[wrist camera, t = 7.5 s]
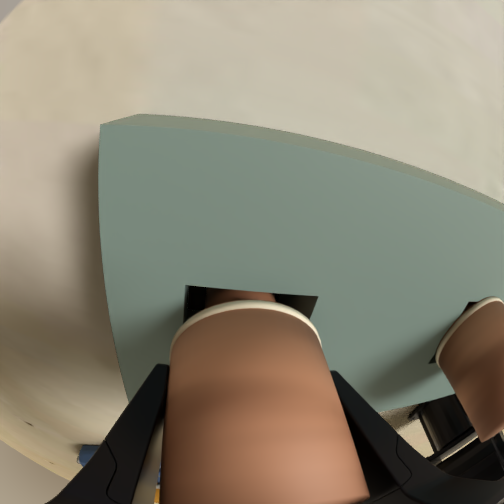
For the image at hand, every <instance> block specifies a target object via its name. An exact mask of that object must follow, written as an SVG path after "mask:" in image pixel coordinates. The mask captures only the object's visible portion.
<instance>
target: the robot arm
mask: <svg viewBox="0 0 504 504" xmlns="http://www.w3.org/2000/svg"><path fill="white" fill-rule="evenodd" d="M330 373H331V376H332V379H333V382H334V385H335V388H336V390H337V393H338V396H339V399H340V402H341V405H342V408H343V411H344V414H345V417H346V420H347V423H348V427H349V430H350V433H351V436H352V439H353V442H354V445H355V448H356V452H357V455H358V458H359V461H360V464H361V468H362V471H363V474H364V477H365V481H366V484H367V487H368V491H369V494H370V498H369V499H368V500H366V501H365V502H363V503H361V504H504V435H503V432H502V430H501V431H500V432H499V433H497V434H496V435H494V436H493V437H491V438H490V439H488V440H486V441H484V442H481V441H480V439H479V437H478V438H476V439H475V440H474V441H472V442H471V443H469V444H468V445H467V446H465V447H464V448H462V449H461V450H459V451H458V452H456V453H455V454H453V455H452V456H450V457H448V458H447V459H445V460H444V461H441V460H442V459H443V458H445V457H447V456H448V455H450V454H451V453H453V452H454V451H456V450H457V449H459V448H460V447H462V446H463V445H465V444H466V443H468V442H469V441H470V440H472V439H473V438H474V437H476V436H477V433H476V431H475V429H474V427H473V425H472V423H471V421H470V419H469V417H468V415H467V413H466V412H465V410H464V408H463V406H462V404H461V402H460V400H459V399H458V397H457V395H456V393H455V394H452V395H448V396H445V397H442V398H438V399H434V400H431V401H427V402H423V403H421V404H420V405H419V407H418V408H417V409H416V410H415V411H414V412H413V413H412V414H411V415H410V416H409V417H408V419H409V421H411V420H415V419H419V420H420V422H421V424H422V426H423V428H424V431H425V433H426V435H427V437H428V440H429V442H430V444H431V447H432V449H433V451H434V454H433V455H431V456H429V457H426V458H425V457H423V456H422V455H421V454H420V453H419V452H417V451H416V450H415V449H414V448H413V447H412V446H411V445H409V444H408V443H407V442H406V441H405V440H404V439H403V438H402V437H401V436H400V435H399V434H398V433H397V432H396V431H395V430H394V429H393V428H392V427H391V426H390V425H389V424H388V423H387V422H386V421H385V420H384V419H383V418H382V417H381V416H380V415H379V414H378V413H377V412H376V411H375V410H374V409H373V408H372V407H371V406H370V405H369V404H368V402H367V401H366V400H365V399H364V398H363V397H362V396H361V395H360V394H359V393H358V392H357V391H356V390H355V389H354V388H353V387H352V386H351V385H350V384H349V383H348V382H347V381H346V380H345V379H344V378H343V377H342V376H341V375H340V374H339V373H338V372H337V371H336V370H330ZM168 376H169V365H168V364H161V363H158V364H156V365H155V366H154V368H153V369H152V371H151V372H150V374H149V375H148V376H147V378H146V379H145V381H144V382H143V384H142V385H141V387H140V388H139V389H138V391H137V392H136V394H135V395H134V397H133V398H132V400H131V401H130V402H129V404H128V405H127V407H126V408H125V410H124V411H123V413H122V414H121V416H120V417H119V418H118V420H117V421H116V423H115V424H114V426H113V427H112V429H111V430H110V432H109V433H108V435H107V436H106V438H105V440H106V441H105V440H103V442H102V443H101V445H100V446H99V448H98V449H97V450H96V452H95V453H94V455H93V456H92V457H91V459H90V460H89V461H88V462H87V463H86V465H85V466H84V467H83V468H82V469H81V470H80V471H79V473H78V474H77V475H76V476H75V477H74V478H73V479H72V480H71V481H70V482H69V483H68V484H67V486H66V487H65V488H64V489H63V490H62V491H61V492H60V493H59V494H58V495H57V496H56V497H54V498H53V499H52V500H50V501H49V502H47V503H45V504H154V499H155V493H156V486H157V480H158V474H159V468H160V462H161V451H162V437H163V425H164V413H165V403H166V394H167V385H168Z"/></svg>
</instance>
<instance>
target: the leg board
mask: <svg viewBox="0 0 504 504" xmlns="http://www.w3.org/2000/svg"><path fill="white" fill-rule="evenodd" d="M98 196H99V224H100V240H101V253H102V264H103V273H104V281H105V289H106V297H107V303H108V310H109V316H110V322H111V328H112V333H113V338H114V343H115V348H116V353H117V358H118V362H119V366H120V371H121V375H122V379H123V383H124V387H125V390H126V394H127V398H128V401H129V402H130V401H131V400H132V398H133V397H134V395H135V394H136V392H137V391H138V389H139V388H140V387H141V385H142V384H143V382H144V381H145V379H146V378H147V376H148V375H149V374H150V372H151V371H152V369H153V368H154V366H155V365H156V364H158V363H161V364H168V365H169V366H170V360H169V356H170V347H171V343H172V339H173V337H174V335H175V333H176V332H177V331H178V329H179V328H180V327H181V326H182V325H183V324H184V323H185V322H186V321H187V320H188V319H189V318H191V317H192V316H194V315H195V314H196V313H198V312H200V311H201V310H191V309H188V299H189V285H191V286H201V287H211V288H221V289H232V290H243V291H254V292H267V293H279V294H280V295H279V298H278V302H277V303H281V304H284V305H286V306H289V307H291V308H293V309H295V310H297V311H299V312H300V313H302V314H303V315H304V316H306V317H307V318H308V319H309V320H310V321H311V322H312V323H313V325H314V326H315V328H316V330H317V332H318V335H319V337H320V340H321V345H322V350H323V353H324V356H325V359H326V361H327V364H328V367H329V370H336V371H337V372H338V373H339V374H340V375H341V376H342V377H343V378H344V379H345V380H346V381H347V382H348V383H349V384H350V385H351V386H352V387H353V388H354V389H355V390H356V391H357V392H358V393H359V394H360V395H361V396H362V397H363V398H364V399H365V400H366V401H367V402H368V404H369V405H370V406H371V407H372V408H373V409H374V410H375V411H376V412H382V411H388V410H393V409H397V408H402V407H406V406H411V405H415V404H419V403H423V402H427V401H431V400H434V399H438V398H442V397H445V396H448V395H452V394H455V392H454V390H453V388H452V386H451V385H450V383H449V381H448V379H447V378H446V376H445V374H444V373H443V371H442V369H441V368H440V367H439V366H438V364H437V363H436V360H435V354H436V350H437V347H438V345H439V343H440V341H441V339H442V338H443V336H444V335H445V333H446V332H447V331H448V329H449V328H450V327H451V326H452V324H453V323H454V322H455V321H456V320H457V319H458V318H459V317H460V315H461V314H462V312H463V310H464V309H465V307H466V305H467V304H468V302H478V301H480V300H482V299H484V298H487V297H490V296H495V297H498V298H500V299H501V300H502V301H503V302H504V204H503V203H501V202H499V201H497V200H495V199H492V198H490V197H488V196H486V195H484V194H482V193H479V192H477V191H475V190H473V189H470V188H468V187H466V186H463V185H461V184H459V183H456V182H454V181H451V180H449V179H446V178H444V177H441V176H439V175H436V174H433V173H431V172H428V171H425V170H423V169H420V168H417V167H414V166H411V165H408V164H406V163H403V162H400V161H397V160H393V159H390V158H387V157H384V156H381V155H377V154H374V153H371V152H367V151H364V150H360V149H357V148H353V147H349V146H346V145H342V144H338V143H334V142H330V141H326V140H322V139H318V138H313V137H309V136H304V135H300V134H295V133H290V132H285V131H280V130H275V129H269V128H264V127H258V126H252V125H245V124H239V123H232V122H225V121H217V120H209V119H200V118H190V117H179V116H166V115H149V114H137V115H133V116H130V117H126V118H122V119H118V120H115V121H111V122H108V123H104V124H101V125H100V139H99V167H98Z"/></svg>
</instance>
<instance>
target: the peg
mask: <svg viewBox="0 0 504 504" xmlns="http://www.w3.org/2000/svg"><path fill="white" fill-rule="evenodd" d="M169 360H170V366H169V376H168V385H167V394H166V403H165V413H164V425H163V437H162V451H161V468H160V492H159V504H361V503H363V502H365V501H366V500H368V499H369V498H370V494H369V491H368V487H367V484H366V481H365V477H364V474H363V471H362V468H361V464H360V461H359V458H358V455H357V452H356V448H355V445H354V442H353V439H352V436H351V433H350V430H349V427H348V423H347V420H346V417H345V414H344V411H343V408H342V405H341V402H340V399H339V396H338V393H337V390H336V388H335V385H334V382H333V379H332V376H331V373H330V370H329V367H328V364H327V361H326V359H325V356H324V353H323V350H322V345H321V340H320V337H319V335H318V332H317V330H316V328H315V326H314V325H313V323H312V322H311V321H310V320H309V319H308V318H307V317H306V316H304V315H303V314H302V313H300V312H299V311H297V310H295V309H293V308H291V307H289V306H286V305H284V304H281V303H277V302H276V299H275V295H274V293H267V292H254V291H243V290H232V289H221V288H211V287H207V288H206V295H205V309H204V310H202V311H200V312H198V313H196V314H195V315H194V316H192V317H191V318H189V319H188V320H187V321H186V322H185V323H184V324H183V325H182V326H181V327H180V328H179V329H178V331H177V332H176V333H175V335H174V337H173V339H172V343H171V347H170V356H169Z"/></svg>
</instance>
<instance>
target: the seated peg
mask: <svg viewBox="0 0 504 504" xmlns="http://www.w3.org/2000/svg"><path fill="white" fill-rule="evenodd" d="M435 360H436V363H437V364H438V366H439V367H440V368H441V369H442V371H443V373H444V374H445V376H446V378H447V379H448V381H449V383H450V385H451V386H452V388H453V390H454V392H455V393H456V395H457V397H458V399H459V400H460V402H461V404H462V406H463V408H464V410H465V412H466V413H467V415H468V417H469V419H470V421H471V423H472V425H473V427H474V429H475V431H476V433H477V435H478V437H479V439H480V441H481V442H484V441H486V440H488V439H490V438H491V437H493V436H494V435H496V434H497V433H499V432H500V431H501V430H503V429H504V302H503V301H502V300H501V299H500V298H498V297H495V296H490V297H487V298H484V299H482V300H480V301H478V302H468V304H467V305H466V307H465V309H464V310H463V312H462V314H461V315H460V317H459V318H458V319H457V320H456V321H455V322H454V323H453V324H452V326H451V327H450V328H449V329H448V331H447V332H446V333H445V335H444V336H443V338H442V339H441V341H440V343H439V345H438V347H437V350H436V354H435Z"/></svg>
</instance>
